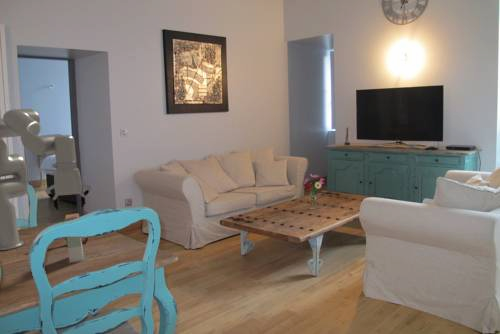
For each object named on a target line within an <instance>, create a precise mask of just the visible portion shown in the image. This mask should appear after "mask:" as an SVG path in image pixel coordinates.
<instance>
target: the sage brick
mask: <svg viewBox="0 0 500 334" xmlns="http://www.w3.org/2000/svg"><path fill="white" fill-rule="evenodd" d="M81 243H82V239H81V238H80V237H68V238H67V243H66V245H67V249H68V248H74V247H81Z"/></svg>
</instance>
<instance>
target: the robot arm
mask: <svg viewBox="0 0 500 334" xmlns="http://www.w3.org/2000/svg"><path fill="white" fill-rule="evenodd" d="M40 122H41V118H40V115H39V113H38V112H37V111H36V110H34V109H32V108H18V109H17V108H16V109H9V110H7V111H6V112H5V113H4V114H3V116H2V118H0V177H1V178H2V177H9V176H11V177H9V178H2V179H0V251H7V250H13V249H16V248H20V247H22V246H23V245H24V241H23V240H21V239H20V236H19V228H18V226H19V225H18V221H17V220H18V219H17V213H16V212H17V211H16V207H15V205H14V204H13V203H12V202H11V201H10V200H11V199H15V198H20V197H23V196H25V195H27V193H28V191H29V181H28V171H27V164H26V161H25V158H24V157H23V155H20V154H18V153H13V154H9V152H8V146H7V144H6V142H5V141H4V140H3V139H4V138H13V137H20V140H21V143H22V146H23V147H24V148H25V149H27V150H28V152H30V153H32V154H35V155H40V156H42V155H49V154H54V155H55V163H54V164H52V165H51V166H52V168H55V170H54V174H53V183H54V184H52V185H50V186H49V187H48V188H45V190H44V192H45V193H46V194H47V196H48V197H50V199H52V200H53V207H54V208H55V210H56V211H58V210H59V208H60V206H59V199H58V197H60V196H69V195H80V201H81V202H80V203H81V208H84V207H85V205H86V198H85V197H86V196H87V195H88V194H89V193H90V190H91V189H92V186H91V185H90V184H88V183H85V182H82V178H81V177H82V176H81V172H80V169H79V168H77V158H76V157H77V155H76V144H75V138H74V136H73V135H67V134H66V135H64V134H59V133H58V134H57V133H56V134H55V133H54V134H45V135H43V134H42V135H39V134H40V132H41V125H40ZM2 138H3V139H2ZM83 188H86V190H85V191H84V192H83ZM53 189H54V193H55V194H53V193H52V192H51V190H53Z"/></svg>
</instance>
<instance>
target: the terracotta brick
mask: <svg viewBox="0 0 500 334" xmlns="http://www.w3.org/2000/svg"><path fill="white" fill-rule="evenodd" d="M76 218H79V219H80V213H78V212H77V213H71V214H65V218H64V221H69V220H73V219H76Z"/></svg>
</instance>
